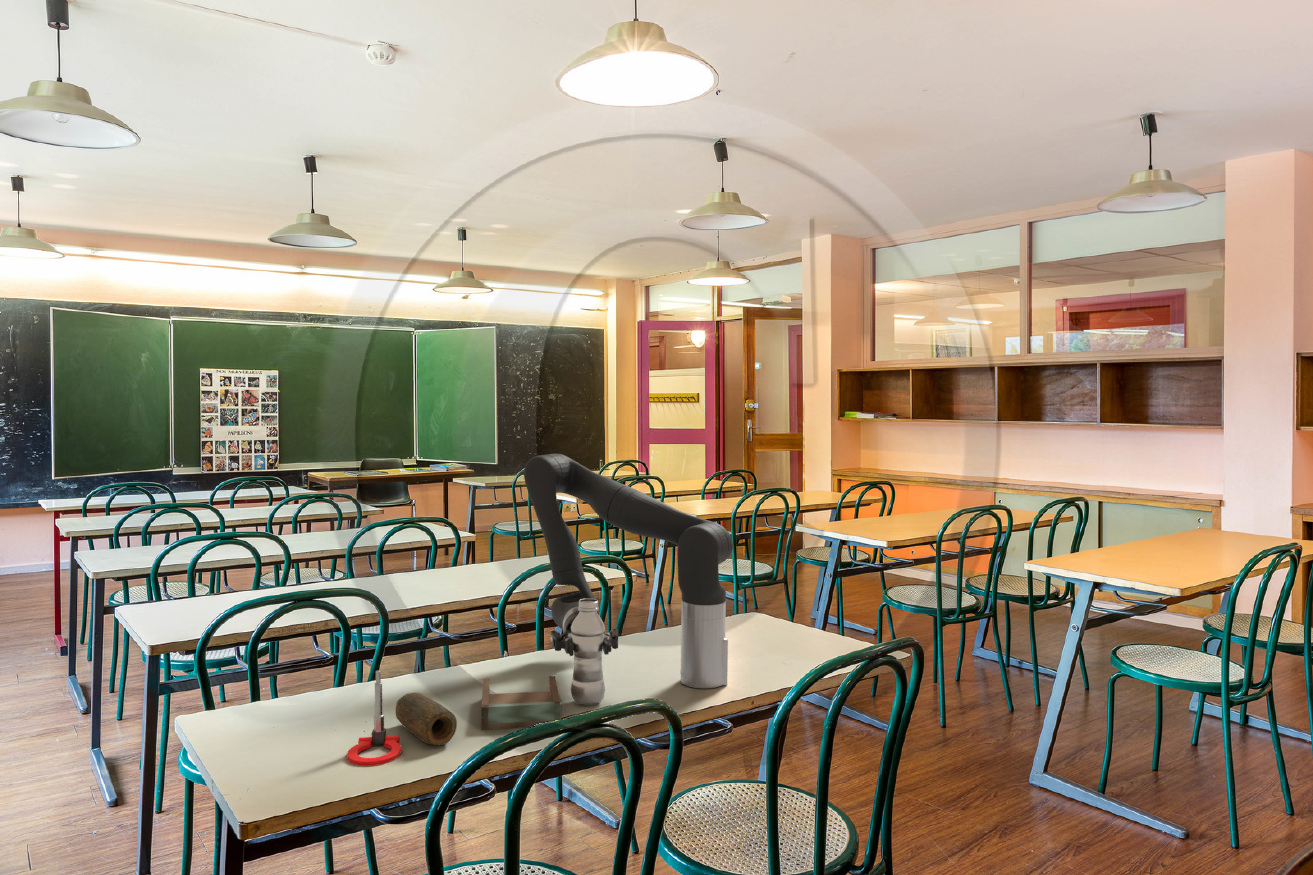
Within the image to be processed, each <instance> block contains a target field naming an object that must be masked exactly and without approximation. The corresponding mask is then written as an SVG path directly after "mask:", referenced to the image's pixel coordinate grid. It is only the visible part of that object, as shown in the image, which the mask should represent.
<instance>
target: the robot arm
mask: <svg viewBox="0 0 1313 875" xmlns="http://www.w3.org/2000/svg"><path fill="white" fill-rule="evenodd" d="M523 478H524V479H523V480H524V484H525V487H526V490H527V492H528V495H529V498H530V501H531V504H532V506H533V510H534V512H535V514H536V518H537V520H538V523H539V525H540V529H541V531H542V534H543V538H544V541H545V545H546V549H547V554H548V559H549V564H550V569H551V573H552V579H553V582H554V583H555V585H557V586H573V587H576V588H577V589H578V591H579V592H575V593H570V594H566V595H561V596H558V597H557V598H555V599H554V600H553V602H552V604H551V617H552V619H553V621H554V623H555V625H557V627H558V628H560V629H561V630H562V632H563V633H562V634H561V633H560V632H559V631H557V630H551V631H550V645H551V647H552V648H553V649H554V651H556V652H561V651H562V649H563V650H564V652H565V653H566V655H569V657H574V649H573V648H574V647H573V641H572V633H571V626H572V623H573V621H574V619H575V618H576V617H577V615H578V614H579V612H580V611H579V610H578V607H579V600H581V599H596V597H595V596H594V594H593V592H592V590H591V588H590V586H589V584H588V581H587V579H586V576H585V573H584V569H583V564H582V559H581V553H580V549H579V545H578V542H577V540H576V538H575V536H574V535H573V532H572V531H571V529H570V528H569V527H568V524H566V522H565V519H564V518H563V515H562V514H561V511H560V509H559V508H560V507H559V504H558V498H557V497H558V496H557V494H566V495H568V496H571V497H574V498H576V499H579V500H581V501H582V502H585V503H586V504H587V505H589V507H590V508H591V509H592V510H593V511H594V513H595V514H596V515H597V516H598V517H599V518H601V519H602V520H603V521H604V522H606V523H607V524H610V525H612V526H614V527H616V528H619V529H621V530H623V531H625V532H628V533H630V534H633V535H637V536H642V537H645V538H651V539H656V540H661V541H666V542H669V543H671V544H673V545H676V546H677V556H676V559H677V561H676V562H677V581H678V587H679V590H680V592H681V619H680V620H681V621H680V622H681V624H680V626H681V628H680V629H681V632H680V633H681V635H680V636H681V637H680V640H681V641H680V683H681V684H683V685H685V686H687V687H690V688H695V689H713V688H718V687H721V686H728V672H729V670H728V668H729V667H728V659H729V658H728V657H729V650H728V649H729V640H728V638H727V637H726V607H727V606H726V604H727V601H726V600H727V593H726V592H727V590H726V588H725V587H724V586H723V585H722V584H721V583H720V576H719V575H720V574H719V565H720V564H723V563H724V562H726V561H727V560H728V559H729V558H730V556H731V555H732V553H733V550H734V542H733V538H732V535H731V534H730V532H729V531H728V529H726V528H725V527H724V526H723V525H721V524H719V523H717V522H715V521H711V520H707V519H705V518H701V517H699V516H696V515H695V516H694V515H691V514H689V513H686V512H683V511H682V510H681V511H680V510H679V509H677V508H675V507H672V506H671V505H669V504H666V503H665V502H662V501H660V500H659V499H656V498H654V497H652V496H650V495H648V494H646V493H644V492H641V491H639V490H638V489H635V488H633V487H630V486H628V485H626V484H624V483H620V482H618V481H617V480H615V479H612V478H609V477H607V476H604V475H602V474H599V473H596V472H594V471H592V470H591V469H589V468H587V467H586V466H584V465H582V464H580V463H579V462H577V461H576V460H574V459H572V458H570V457H569V456H566V454H565V455H564V454H562V453H549V454H541V455H540V454H539V455H536V456H533V457H531V458H530V459H528V461H527V462H526V463H525V466H524V469H523ZM597 614H598V615H599V608H598V611H597ZM612 649H613V650H617V649H619V629H618V628H612V630H610V631H609V632H605V633H604V640H603V647H602V653H603V654H604V655H606V656H607V655H609V653H611V652H612Z"/></svg>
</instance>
